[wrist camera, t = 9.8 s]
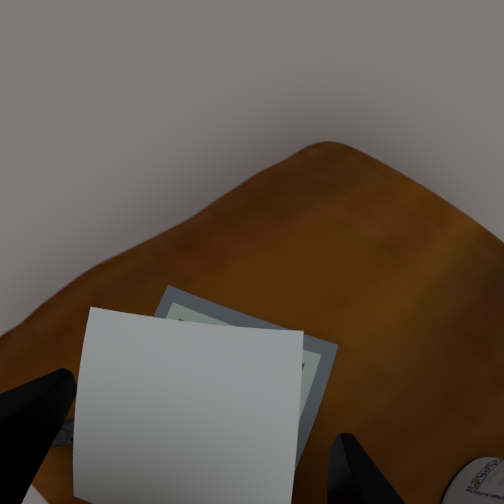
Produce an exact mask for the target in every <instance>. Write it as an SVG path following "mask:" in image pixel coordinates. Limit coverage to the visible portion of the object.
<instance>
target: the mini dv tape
mask: <svg viewBox="0 0 504 504" xmlns="http://www.w3.org/2000/svg"><path fill="white" fill-rule="evenodd" d="M74 420H75V419H65V421H64V423H63V425H62V427H61V429H60V431H59V433H58V434H57V436H56V438H55V440H54V442H53V443H52V445H51V447H54V446H60V445H65V444H69V443H73V440H74Z"/></svg>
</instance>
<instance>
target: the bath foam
mask: <svg viewBox="0 0 504 504" xmlns="http://www.w3.org/2000/svg"><path fill="white" fill-rule="evenodd" d="M442 504H504V458H493V457H483V458H478V459H476V460H474V461H472V462H471V463H469V464H468V465H467V466H465V467H464V468H463V469H462V470H461V471H460V472H459V473H458V474H457V476H456V477H455V478H454V480H453V481H452V483H451V484H450V486H449V487H448V489H447V491H446V493H445V496H444V498H443V502H442Z"/></svg>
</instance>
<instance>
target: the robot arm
mask: <svg viewBox="0 0 504 504" xmlns="http://www.w3.org/2000/svg"><path fill="white" fill-rule="evenodd" d="M76 394H77V385H76V382H75V378H74V375H73V373H72V372H71V371H69V370H67V369H64V368H61V369H58V370H56V371H54V372H52V373H49V374H47V375H45V376H42V377H40V378H37V379H35V380H33V381H30V382H28V383H26V384H23V385H21V386H18V387H16V388H14V389H11V390H9V391H6V392H4V393H1V394H0V504H21V503H22V502H23V499H24V497H25V495H26V493H27V491H28V489H29V487H30V485H31V483H32V481H33V479H34V477H35V475H36V473H37V471H38V469H39V467H40V466H41V464H42V462H43V460H44V458H45V456H46V454H47V453H48V451H49V449H50V447H51V445H52V443H53V442H54V440H55V438H56V436H57V434H58V433H59V431H60V429H61V427H62V425H63V423H64V421H65V419H66V416H67V414H68V412H69V410H70V407H71V405H72V403H73V400H74V398H75V396H76ZM327 500H328V504H405V503H404V502H403V500H402V499H401V498H400V496H399V495H398V494H397V493H396V491H395V490H394V489H393V487H392V486H391V485H390V483H389V482H388V481H387V479H386V478H385V477H384V476H383V474H382V473H381V472H380V470H379V469H378V468H377V466H376V465H375V464H374V462H373V461H372V460H371V458H370V457H369V456H368V454H367V453H366V452H365V450H364V449H363V448H362V446H361V445H360V444H359V442H358V441H357V440H356V438H355V437H354V436H353V435H352V434H351V433H340V434H339V435H338V436H337V438H336V439H335V441H334V442H333V444H332V446H331V448H330V453H329V469H328V483H327Z"/></svg>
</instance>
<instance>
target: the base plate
mask: <svg viewBox="0 0 504 504" xmlns="http://www.w3.org/2000/svg"><path fill="white" fill-rule="evenodd" d="M154 317H156V318H164V319H171V320H179V321H187V322H196V323H205V324H215V325H225V326H236V327H247V328H260V329H275V330H290V329H287V328H284V327H281V326H278V325H275V324H272V323H269V322H266V321H263V320H260V319H257V318H254V317H251V316H249V315H246V314H243V313H240V312H237V311H235V310H232V309H229V308H226V307H224V306H221V305H218V304H216V303H213V302H210V301H208V300H205V299H202V298H200V297H197V296H195V295H192V294H189V293H187V292H184V291H182V290H179V289H177V288H174V287H172V286H169V285H168V287H167V289H166V291H165V293H164V295H163V297H162V299H161V302H160V304H159V306H158V308H157V310H156V313H155V315H154ZM292 331H293V330H292ZM337 348H338V345H337V344H334V343H331V342H327V341H324V340H321V339H318V338H314V337H311V336H308V335H305V334H303V356H302V378H301V396H300V411H299V425H298V438H297V449H296V460H295V469H296V467H297V465H298V462H299V460H300V457H301V455H302V452H303V450H304V447H305V445H306V442H307V439H308V437H309V434H310V431H311V429H312V426H313V423H314V420H315V418H316V415H317V412H318V409H319V406H320V403H321V400H322V397H323V394H324V391H325V388H326V385H327V382H328V379H329V375H330V372H331V369H332V365H333V362H334V359H335V355H336V352H337ZM294 472H295V471H294Z"/></svg>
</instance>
